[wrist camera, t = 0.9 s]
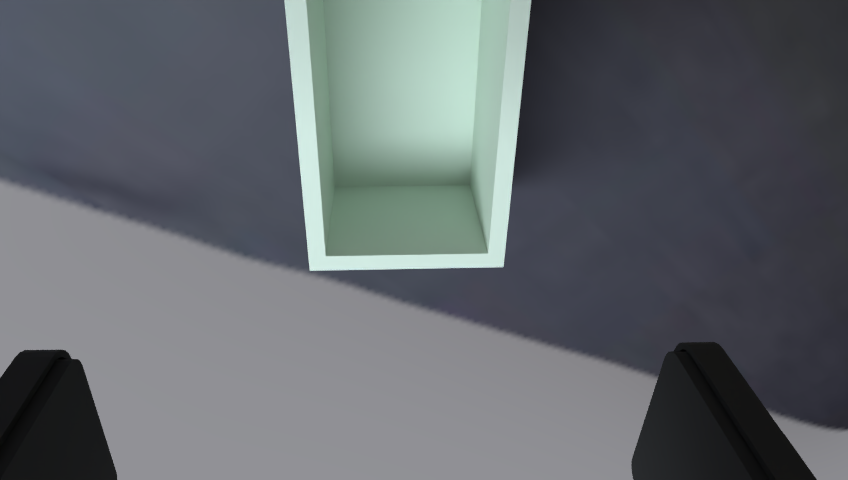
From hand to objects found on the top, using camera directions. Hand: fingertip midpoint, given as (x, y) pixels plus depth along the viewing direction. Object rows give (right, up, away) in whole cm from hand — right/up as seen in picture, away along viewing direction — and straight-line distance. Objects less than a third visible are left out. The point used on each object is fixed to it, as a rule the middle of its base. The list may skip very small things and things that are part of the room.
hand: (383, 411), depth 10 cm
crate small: (0, +9, +15) cm, 17 cm away
